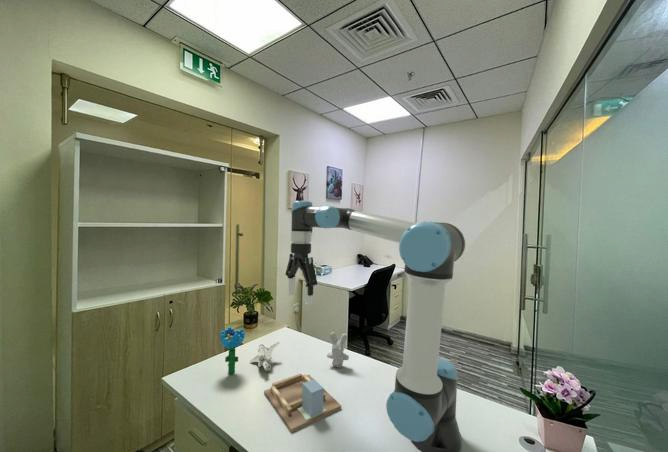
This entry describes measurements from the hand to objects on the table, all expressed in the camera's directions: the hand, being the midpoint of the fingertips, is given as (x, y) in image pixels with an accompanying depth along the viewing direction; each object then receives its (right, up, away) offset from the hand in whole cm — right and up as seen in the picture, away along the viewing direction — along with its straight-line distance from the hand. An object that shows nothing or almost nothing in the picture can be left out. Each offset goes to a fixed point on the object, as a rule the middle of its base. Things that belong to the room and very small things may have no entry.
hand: (299, 299), depth 100 cm
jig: (+1, -35, -5) cm, 35 cm away
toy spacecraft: (-10, -26, +16) cm, 32 cm away
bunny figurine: (+14, -35, +18) cm, 42 cm away
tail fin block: (+6, -34, -11) cm, 36 cm away
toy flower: (-30, -34, +11) cm, 46 cm away
